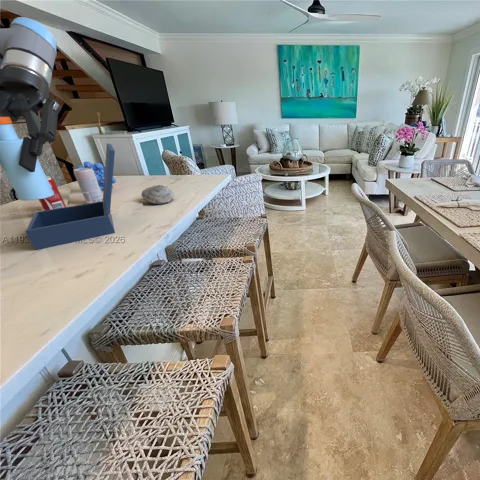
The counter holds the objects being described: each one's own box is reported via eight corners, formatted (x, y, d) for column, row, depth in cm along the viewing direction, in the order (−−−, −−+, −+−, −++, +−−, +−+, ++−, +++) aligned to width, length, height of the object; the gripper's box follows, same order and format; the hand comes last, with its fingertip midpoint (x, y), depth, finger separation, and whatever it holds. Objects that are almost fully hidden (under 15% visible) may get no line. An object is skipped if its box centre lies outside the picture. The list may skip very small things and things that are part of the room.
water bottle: (17, 202, 56) (-29, 118, 48) (22, 196, 60) (-21, 117, 52) (53, 197, 59) (14, 117, 51) (55, 191, 63) (19, 116, 55)
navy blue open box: (37, 253, 63) (25, 231, 61) (45, 231, 74) (35, 212, 72) (116, 235, 72) (108, 215, 69) (112, 218, 83) (105, 200, 80)
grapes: (82, 195, 104) (68, 164, 98) (85, 191, 109) (73, 161, 103) (117, 191, 108) (106, 161, 103) (119, 187, 114) (109, 158, 108)
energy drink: (102, 199, 100) (89, 166, 94) (107, 201, 97) (94, 168, 91) (84, 202, 96) (70, 169, 90) (90, 205, 93) (75, 171, 88)
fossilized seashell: (138, 202, 91) (138, 182, 90) (145, 203, 100) (145, 185, 100) (173, 204, 95) (173, 185, 94) (177, 205, 104) (177, 187, 104)
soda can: (46, 214, 86) (27, 177, 80) (67, 210, 89) (50, 174, 84) (48, 218, 83) (28, 180, 77) (69, 214, 86) (52, 177, 81)
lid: (109, 149, 65) (114, 150, 65) (106, 143, 76) (111, 144, 76) (105, 213, 69) (109, 213, 69) (102, 198, 80) (107, 199, 80)
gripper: (85, 94, 65) (75, 176, 58) (-8, 93, 61) (-30, 181, 54) (62, 65, 58) (47, 155, 51) (-45, 63, 54) (-75, 160, 47)
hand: (7, 168), depth 53 cm, fingers closed on water bottle, 6 cm apart
